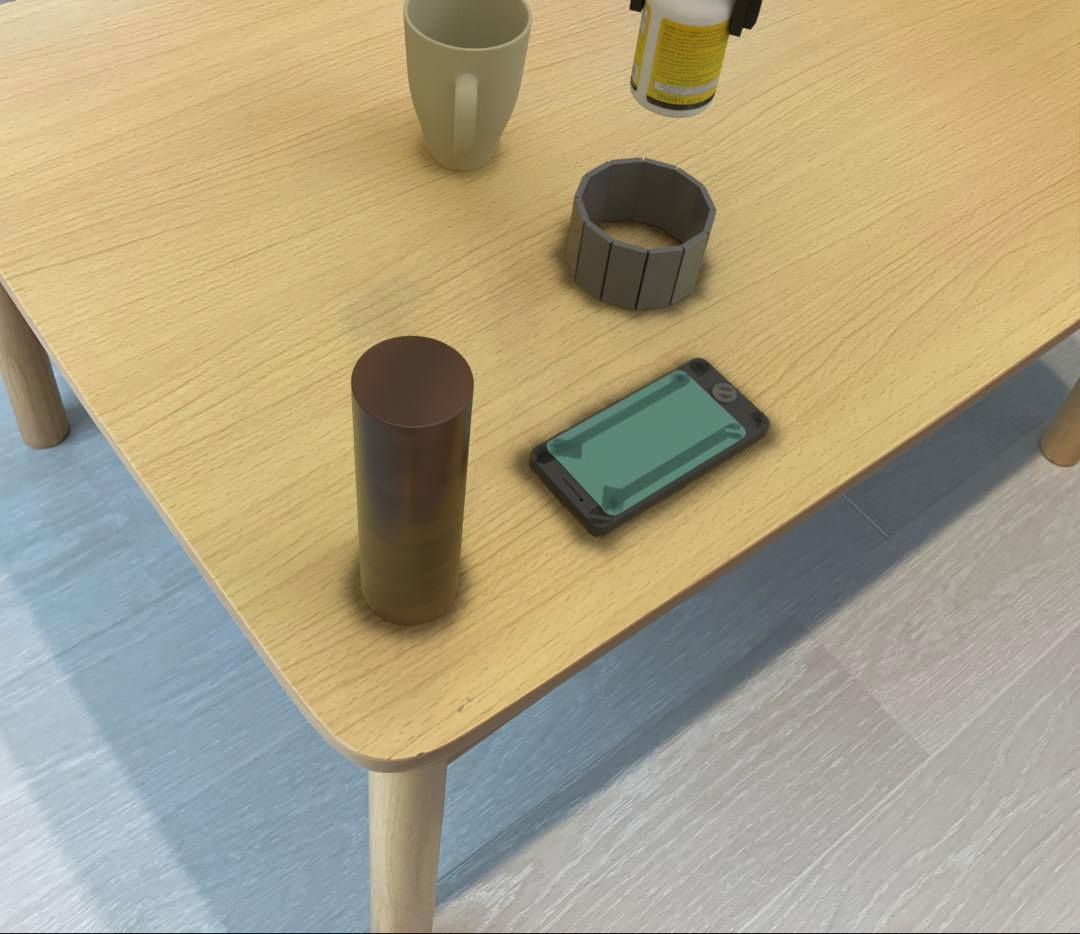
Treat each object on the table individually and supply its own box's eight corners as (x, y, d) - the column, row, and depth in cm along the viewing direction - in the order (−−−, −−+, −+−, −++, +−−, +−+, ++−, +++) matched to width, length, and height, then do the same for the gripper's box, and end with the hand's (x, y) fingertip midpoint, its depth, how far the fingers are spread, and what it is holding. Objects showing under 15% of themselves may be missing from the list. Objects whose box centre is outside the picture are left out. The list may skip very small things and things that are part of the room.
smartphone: (775, 421, 77) (599, 529, 70) (770, 433, 78) (596, 540, 71) (699, 350, 80) (524, 447, 73) (695, 362, 81) (522, 459, 74)
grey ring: (710, 236, 88) (726, 178, 84) (683, 324, 83) (699, 267, 78) (586, 203, 89) (595, 144, 85) (551, 288, 84) (560, 229, 79)
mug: (369, 145, 91) (366, 4, 81) (469, 101, 95) (477, -38, 86) (457, 224, 87) (465, 85, 77) (558, 174, 91) (577, 37, 81)
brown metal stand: (470, 558, 70) (489, 353, 55) (439, 637, 66) (451, 442, 52) (381, 531, 70) (377, 321, 56) (346, 608, 67) (331, 407, 52)
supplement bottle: (730, 105, 74) (768, -41, 66) (663, 131, 72) (694, -18, 64) (677, 60, 77) (708, -87, 69) (611, 83, 75) (635, -66, 67)
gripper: (591, -304, 55) (554, 21, 69) (894, -237, 54) (796, 81, 67) (628, -358, 60) (587, -42, 73) (909, -298, 58) (814, 12, 72)
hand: (687, 15), depth 70 cm, fingers closed on supplement bottle, 5 cm apart
